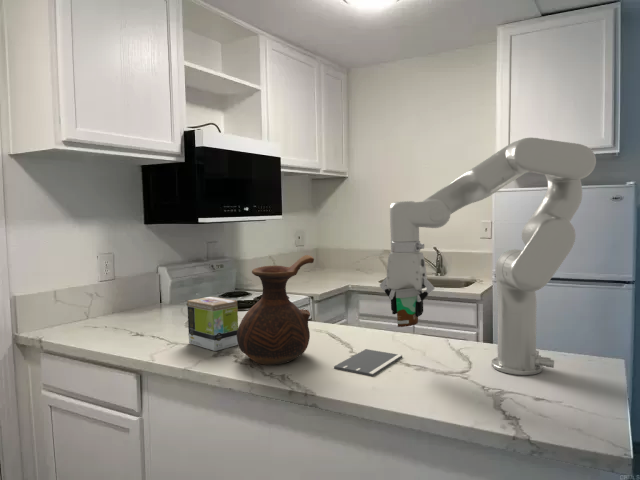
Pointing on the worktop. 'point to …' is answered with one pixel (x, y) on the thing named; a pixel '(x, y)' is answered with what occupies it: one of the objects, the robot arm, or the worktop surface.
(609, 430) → the worktop surface
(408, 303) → the food container
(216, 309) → the tea box
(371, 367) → the mat
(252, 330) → the jug
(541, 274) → the robot arm
